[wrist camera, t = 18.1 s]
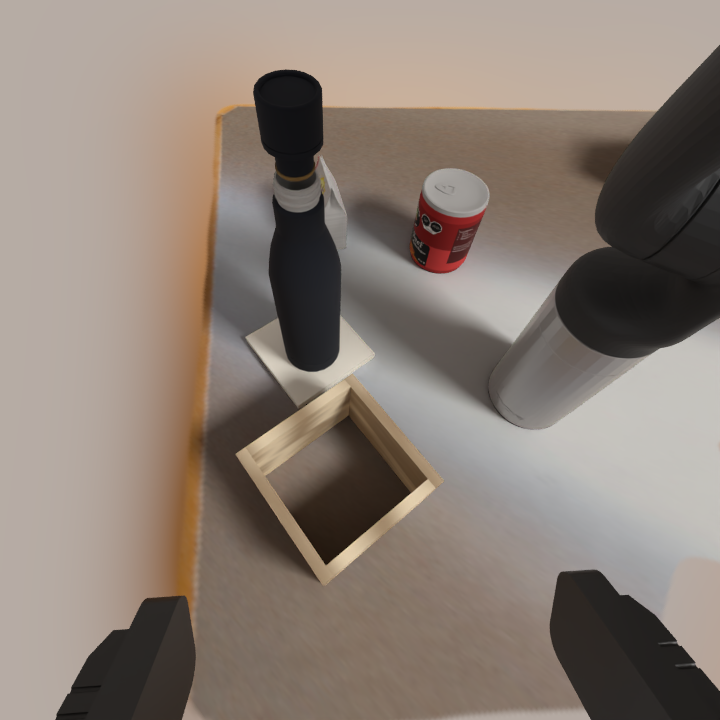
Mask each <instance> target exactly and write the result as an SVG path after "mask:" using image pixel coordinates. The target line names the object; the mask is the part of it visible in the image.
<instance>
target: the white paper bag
mask: <svg viewBox="0 0 720 720" xmlns="http://www.w3.org/2000/svg"><path fill="white" fill-rule="evenodd" d="M315 169H316V171H317V173H318V175H319V178H320V180H321V186H320V187H321V191H322V194H323V196H324V209H325V224H326V226H327V228H328V230H329V232H330V234H331V236H332V238H333V241H334V243H335V245H336V248H337V250H339V249H345V248H346V239H347V214H346V211H345V208H344V205H343V202H342V199H341V196H340V193H339V190H338V187H337V184H336V180H335V179H334V177H333V175H332V174H331V172H330V171H329V169H328V167H327V166H326V164H325V162H324V160H323V157H322V159H321V157H320V156H319V157H318V162H317V164H316V167H315Z"/></svg>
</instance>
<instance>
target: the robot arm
mask: <svg viewBox="0 0 720 720" xmlns="http://www.w3.org/2000/svg"><path fill="white" fill-rule="evenodd" d="M595 224H596V228H597V231H598V233H599V235H600V236H601V237H602V239H603V240H604V241H605V242H607V243H608V244H609V245H611V246H612V247H605V248H600V249H596V250H593V251H591V252H588V253H586V254H585V255H583V256H581V257H580V258H579V259H578V260H576V261H575V262H574V263H573V264H572V265H571V267H570V268H569V269H568V270H567V272H566V273H565V274H564V276H563V277H562V278H561V280H560V281H559V282H558V284H557V285H556V286H555V288H554V289H553V290H552V292H551V293H550V294H549V296H548V297H547V298H546V300H545V301H544V303H543V304H542V305H541V307H540V308H539V309H538V311H537V312H536V314H535V315H534V316H533V318H532V319H531V320H530V322H529V323H528V324H527V326H526V327H525V328H524V330H523V331H522V332H521V334H520V335H519V336H518V338H517V339H516V340H515V342H514V343H513V344H512V346H511V347H510V348H509V350H508V351H507V352H506V354H505V355H504V356H503V358H502V359H501V360H500V362H499V363H498V364H497V366H496V367H495V369H494V370H493V371H492V373H491V376H490V378H489V385H488V386H489V394H490V397H491V400H492V402H493V404H494V406H495V408H496V409H497V410H498V411H499V413H500V414H501V415H502V416H503V417H505V418H506V419H507V420H508V421H510V422H511V423H513V424H515V425H517V426H520V427H523V428H527V429H543V428H547V427H550V426H552V425H553V424H555V423H557V422H558V421H559V420H561V419H562V418H564V417H565V416H566V415H568V414H569V413H571V412H572V411H574V410H575V409H576V408H578V407H579V406H580V405H582V404H583V403H585V402H586V401H587V400H589V399H590V398H591V397H593V396H594V395H596V394H597V393H598V392H600V391H601V390H602V389H604V388H605V387H607V386H608V385H609V384H611V383H612V382H614V381H615V380H616V379H618V378H619V377H620V376H622V375H623V374H625V373H626V372H627V371H629V370H630V369H631V368H633V367H634V366H635V365H637V364H638V363H639V362H641V361H642V360H644V359H645V358H646V357H648V356H649V355H651V354H652V353H653V352H655V351H656V350H658V349H659V348H664V347H668V346H672V345H675V344H677V343H679V342H681V341H683V340H685V339H686V338H688V337H690V336H691V335H693V334H694V333H696V332H698V331H699V330H701V329H702V328H704V327H705V326H707V325H709V324H710V323H712V322H714V321H715V320H717V319H719V318H720V45H719V46H718V47H717V48H716V49H715V50H714V52H713V53H712V54H711V55H710V56H709V57H708V58H707V59H706V60H705V61H704V62H703V63H702V64H701V66H699V67H698V68H697V69H696V71H695V72H694V73H693V74H692V75H691V76H690V77H689V78H688V79H687V80H686V81H685V82H684V83H683V84H682V85H681V86H680V87H679V88H678V89H677V90H676V92H675V93H674V94H673V95H672V96H671V97H670V98H669V99H668V100H667V101H666V102H665V103H664V105H663V106H662V107H661V108H660V109H659V110H658V111H657V112H656V113H655V115H654V116H653V117H652V118H651V119H650V120H649V121H648V122H647V124H646V125H645V126H644V127H643V128H642V129H641V130H640V132H639V133H638V134H637V135H636V137H635V138H634V139H633V141H632V142H631V143H630V144H629V146H628V147H627V148H626V150H625V151H624V152H623V154H622V155H621V157H620V158H619V160H618V161H617V163H616V164H615V166H614V167H613V169H612V171H611V172H610V174H609V176H608V177H607V179H606V181H605V183H604V185H603V188H602V190H601V193H600V195H599V198H598V202H597V206H596V210H595ZM550 635H551V640H552V644H553V647H554V650H555V653H556V655H557V657H558V659H559V661H560V663H561V665H562V667H563V669H564V670H565V672H566V674H567V676H568V678H569V680H570V682H571V684H572V685H573V687H574V689H575V691H576V693H577V695H578V697H579V698H580V700H581V702H582V704H583V706H584V708H585V710H586V711H587V713H588V715H589V717H590V719H591V720H720V691H719V690H718V689H717V687H716V686H715V685H714V684H713V683H712V682H711V680H710V679H709V678H708V677H707V676H706V674H705V673H704V672H703V671H702V670H701V669H700V668H697V667H696V665H695V661H694V660H693V659H692V658H691V657H690V656H689V654H688V653H687V652H686V651H685V650H684V648H683V647H682V646H679V645H678V644H677V640H676V639H675V638H674V637H673V635H672V634H671V633H670V632H669V631H668V630H667V628H666V627H665V626H664V625H663V624H662V623H661V621H660V620H659V619H658V618H657V617H656V615H654V614H653V613H652V612H650V611H649V610H648V609H646V608H645V607H644V606H642V605H641V604H640V603H638V602H637V601H636V600H634V599H633V598H632V597H630V596H629V595H619V594H618V592H617V591H616V590H615V589H614V587H613V586H612V585H611V584H610V582H609V581H608V580H607V579H606V577H605V576H604V575H603V574H602V573H601V572H599V571H598V570H581V571H566V572H561V573H560V574H559V575H558V578H557V584H556V590H555V596H554V602H553V607H552V613H551V619H550ZM195 660H196V652H195V644H194V638H193V632H192V626H191V619H190V613H189V607H188V602H187V598H186V597H185V596H172V597H157V598H147V599H145V600H144V601H143V602H142V604H141V606H140V608H139V610H138V612H137V614H136V616H135V618H134V620H133V622H132V624H131V626H130V628H129V629H125V630H113V631H112V632H111V633H110V634H109V635H108V636H107V638H106V639H105V640H104V641H103V642H102V643H101V644H100V645H99V646H98V647H97V648H96V649H95V650H94V652H92V653H91V654H90V655H89V657H88V658H87V660H86V662H85V664H84V665H83V667H82V669H81V671H80V673H79V674H78V676H77V678H76V680H75V682H74V684H73V685H72V687H71V692H70V694H67V696H66V698H65V700H64V702H63V704H62V706H61V707H60V709H59V711H58V713H57V717H56V720H182V717H183V714H184V710H185V707H186V703H187V700H188V697H189V693H190V690H191V686H192V682H193V677H194V671H195Z"/></svg>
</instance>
